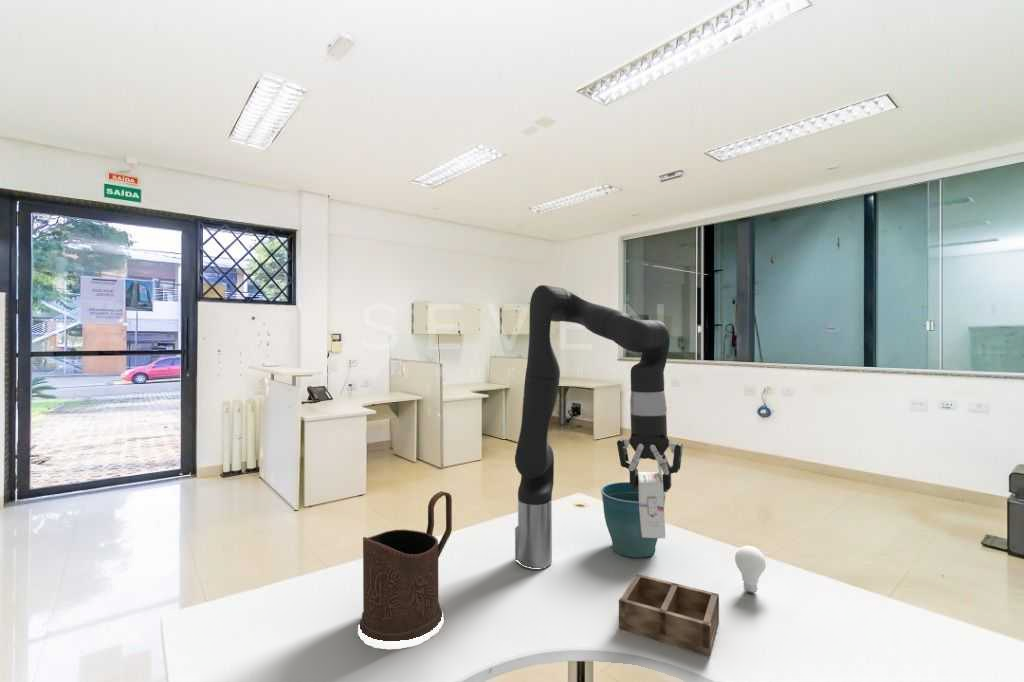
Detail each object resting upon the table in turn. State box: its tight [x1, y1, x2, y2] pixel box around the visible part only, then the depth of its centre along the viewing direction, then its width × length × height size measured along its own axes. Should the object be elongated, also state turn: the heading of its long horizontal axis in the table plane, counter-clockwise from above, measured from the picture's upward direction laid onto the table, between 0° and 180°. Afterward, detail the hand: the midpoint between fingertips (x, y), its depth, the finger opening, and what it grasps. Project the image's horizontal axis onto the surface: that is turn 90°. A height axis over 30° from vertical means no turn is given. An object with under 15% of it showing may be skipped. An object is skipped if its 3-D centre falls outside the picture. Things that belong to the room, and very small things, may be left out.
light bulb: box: [734, 545, 767, 594], centre depth 114 cm, size 7×7×11 cm
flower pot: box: [600, 481, 667, 559], centre depth 138 cm, size 18×18×17 cm
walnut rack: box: [618, 573, 720, 658], centre depth 101 cm, size 18×13×6 cm
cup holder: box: [359, 490, 453, 641], centre depth 105 cm, size 18×24×25 cm
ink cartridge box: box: [638, 461, 666, 539], centre depth 103 cm, size 9×5×15 cm, turn 169°
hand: (650, 488), depth 103 cm, fingers closed on ink cartridge box, 6 cm apart
